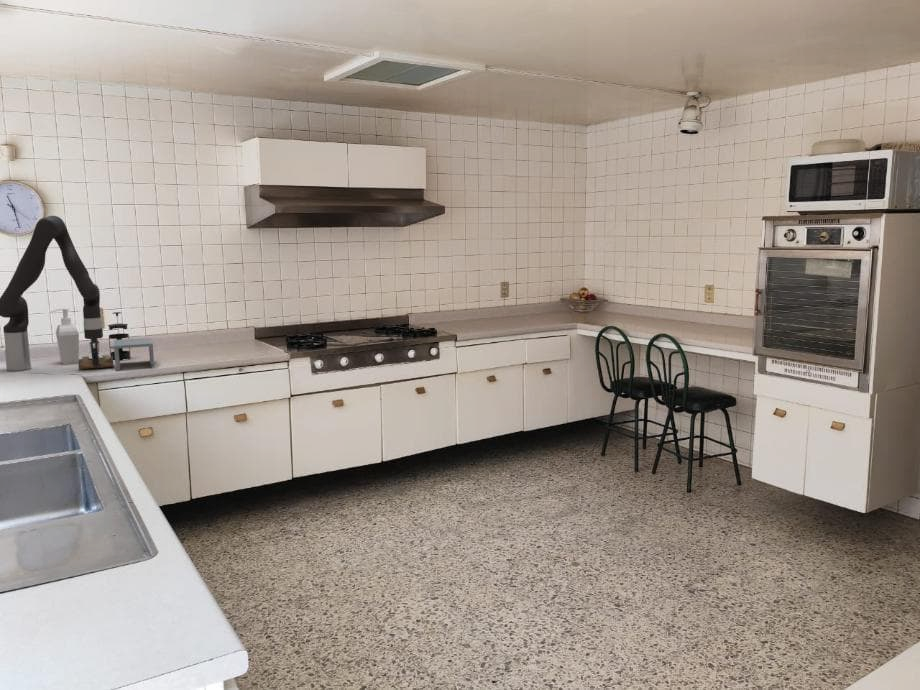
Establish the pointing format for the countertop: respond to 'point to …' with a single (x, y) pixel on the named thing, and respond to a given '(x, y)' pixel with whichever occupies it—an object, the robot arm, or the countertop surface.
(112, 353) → the french press
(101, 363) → the tray
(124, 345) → the grey small table
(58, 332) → the soap bottle
